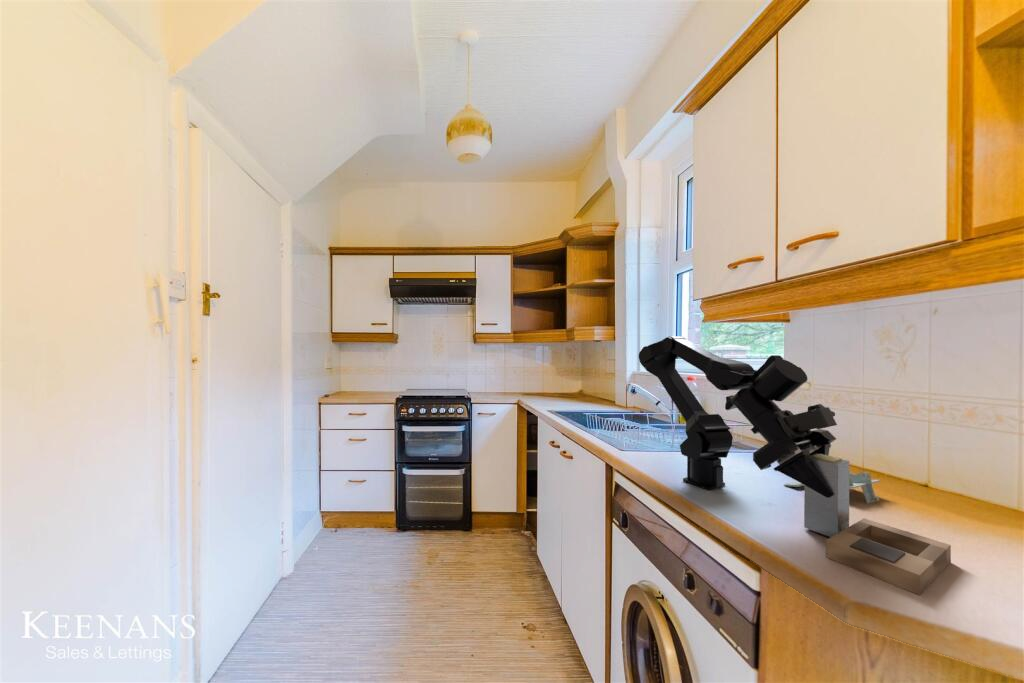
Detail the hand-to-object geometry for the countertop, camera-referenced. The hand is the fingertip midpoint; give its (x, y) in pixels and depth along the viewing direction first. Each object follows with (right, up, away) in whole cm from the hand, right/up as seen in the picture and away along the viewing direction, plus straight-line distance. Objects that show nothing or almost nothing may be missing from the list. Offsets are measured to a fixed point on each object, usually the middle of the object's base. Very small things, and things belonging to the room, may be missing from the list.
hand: (837, 493), depth 60 cm
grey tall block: (-1, -7, +1) cm, 7 cm away
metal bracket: (+17, -8, +20) cm, 28 cm away
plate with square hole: (+1, -7, -7) cm, 10 cm away
